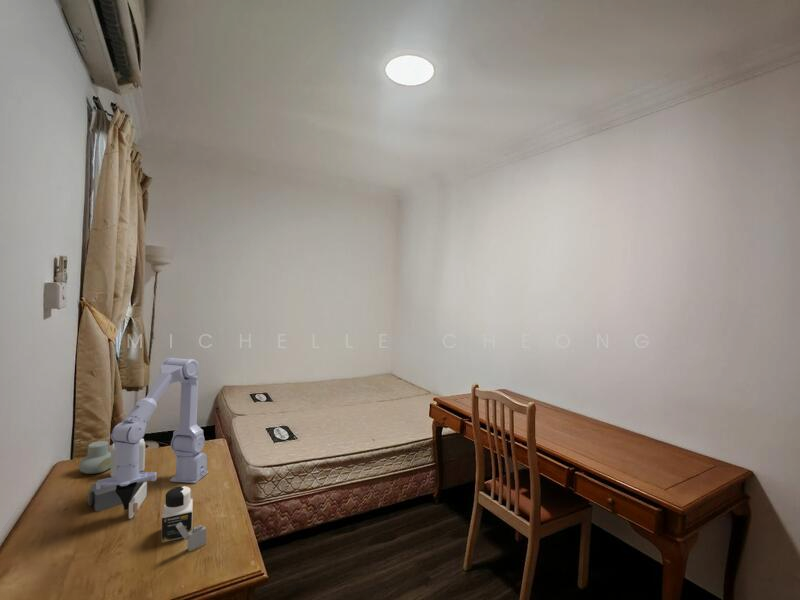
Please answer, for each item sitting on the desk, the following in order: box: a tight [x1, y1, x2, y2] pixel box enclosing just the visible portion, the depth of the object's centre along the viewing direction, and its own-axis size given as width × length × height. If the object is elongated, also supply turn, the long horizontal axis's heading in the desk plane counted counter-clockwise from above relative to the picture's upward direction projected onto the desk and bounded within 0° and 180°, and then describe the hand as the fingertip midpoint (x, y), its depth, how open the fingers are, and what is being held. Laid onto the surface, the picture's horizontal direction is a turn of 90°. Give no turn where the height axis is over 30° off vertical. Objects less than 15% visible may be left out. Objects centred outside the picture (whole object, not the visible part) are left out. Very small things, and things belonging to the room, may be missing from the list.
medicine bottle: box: [161, 485, 194, 543], centre depth 106 cm, size 7×7×12 cm
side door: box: [128, 481, 148, 519], centre depth 117 cm, size 13×2×5 cm, turn 17°
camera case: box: [87, 482, 144, 513], centre depth 121 cm, size 13×9×6 cm
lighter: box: [176, 522, 207, 552], centre depth 99 cm, size 7×2×8 cm, turn 137°
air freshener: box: [78, 440, 111, 475], centre depth 139 cm, size 11×8×10 cm
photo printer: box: [109, 438, 146, 477], centre depth 138 cm, size 10×4×12 cm, turn 123°
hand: (126, 507), depth 113 cm, fingers closed
